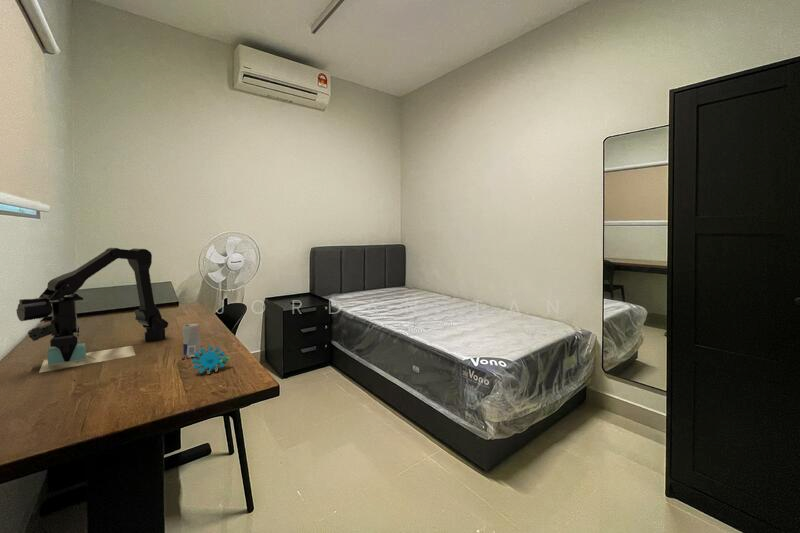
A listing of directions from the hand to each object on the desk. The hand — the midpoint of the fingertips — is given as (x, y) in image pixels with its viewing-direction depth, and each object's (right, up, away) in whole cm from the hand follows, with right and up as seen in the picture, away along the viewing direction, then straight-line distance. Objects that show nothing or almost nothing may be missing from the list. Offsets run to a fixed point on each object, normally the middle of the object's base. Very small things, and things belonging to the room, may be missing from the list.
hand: (67, 359), depth 114 cm
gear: (+51, -4, -2) cm, 51 cm away
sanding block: (0, -1, 0) cm, 1 cm away
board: (+4, -2, +4) cm, 6 cm away
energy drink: (+36, -2, +11) cm, 38 cm away
